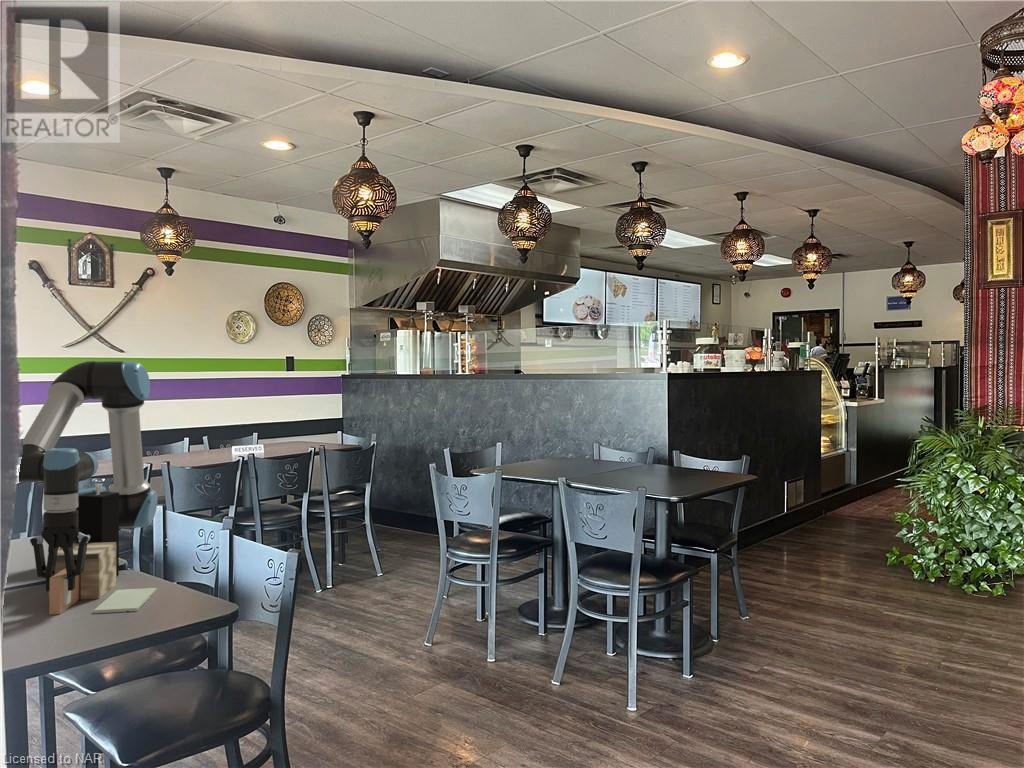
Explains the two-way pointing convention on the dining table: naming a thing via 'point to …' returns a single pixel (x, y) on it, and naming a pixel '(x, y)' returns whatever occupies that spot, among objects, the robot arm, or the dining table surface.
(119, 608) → the mat
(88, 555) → the brown boxy piece
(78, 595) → the tan rectangular slab
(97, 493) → the black tall rectangular block
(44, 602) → the dining table surface
